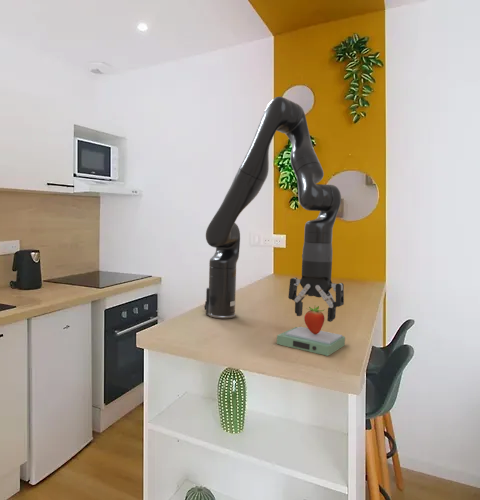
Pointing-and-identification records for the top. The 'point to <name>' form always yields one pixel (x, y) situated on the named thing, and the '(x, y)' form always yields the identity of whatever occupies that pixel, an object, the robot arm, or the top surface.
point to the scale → (311, 340)
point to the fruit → (314, 320)
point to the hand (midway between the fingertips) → (314, 318)
